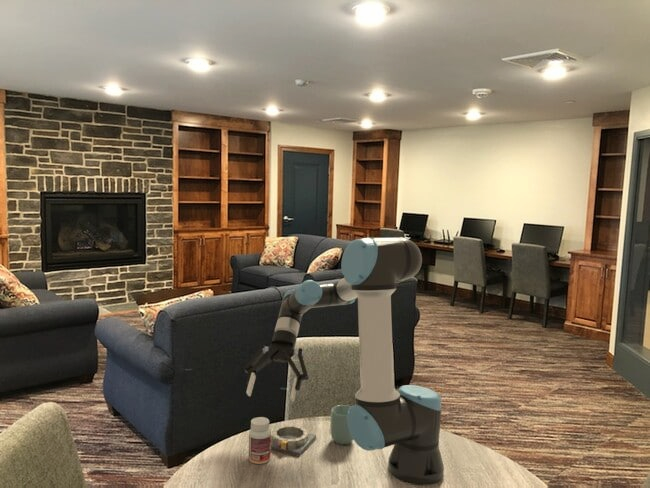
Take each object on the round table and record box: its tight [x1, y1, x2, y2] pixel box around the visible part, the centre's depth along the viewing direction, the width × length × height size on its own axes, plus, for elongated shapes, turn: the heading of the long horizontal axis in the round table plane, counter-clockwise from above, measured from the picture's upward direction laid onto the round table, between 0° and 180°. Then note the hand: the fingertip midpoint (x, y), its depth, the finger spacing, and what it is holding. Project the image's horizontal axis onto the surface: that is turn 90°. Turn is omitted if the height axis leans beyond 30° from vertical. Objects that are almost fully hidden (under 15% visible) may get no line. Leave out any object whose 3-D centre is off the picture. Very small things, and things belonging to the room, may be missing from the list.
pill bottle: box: [248, 416, 272, 465], centre depth 152 cm, size 6×6×11 cm
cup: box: [330, 404, 354, 446], centre depth 164 cm, size 8×8×10 cm
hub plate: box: [271, 424, 317, 457], centre depth 162 cm, size 12×12×3 cm
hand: (269, 397), depth 161 cm, fingers open, 13 cm apart
